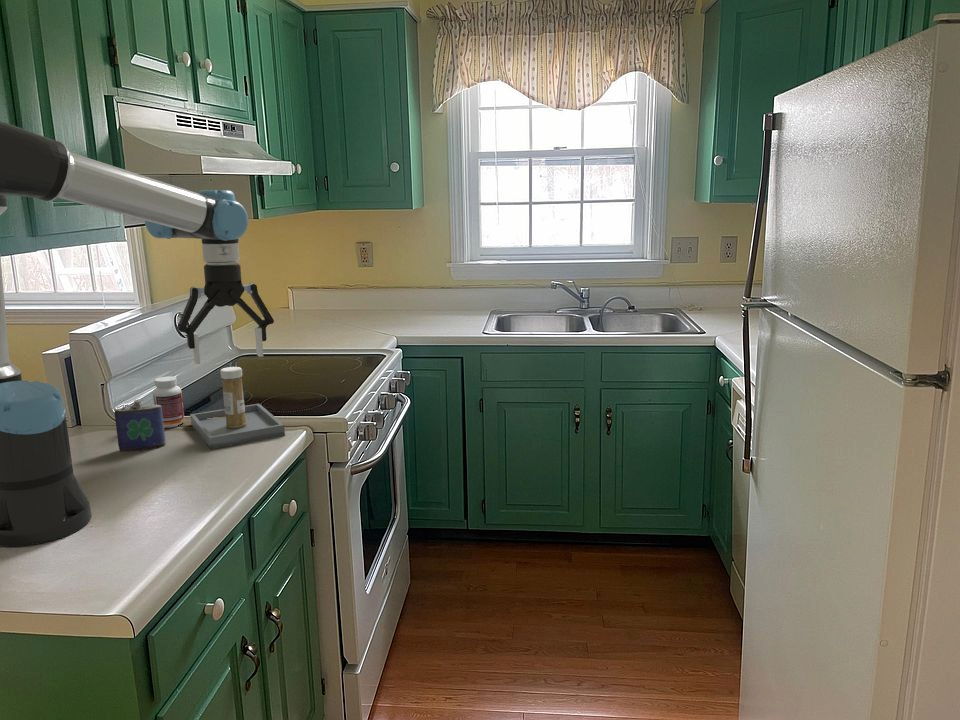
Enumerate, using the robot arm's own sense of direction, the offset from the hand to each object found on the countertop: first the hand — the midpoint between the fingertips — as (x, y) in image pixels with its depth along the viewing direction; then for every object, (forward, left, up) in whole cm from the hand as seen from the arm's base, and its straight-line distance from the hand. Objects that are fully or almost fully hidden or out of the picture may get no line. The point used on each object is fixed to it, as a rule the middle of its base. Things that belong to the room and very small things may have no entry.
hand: (229, 359), depth 168 cm
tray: (0, 0, -17) cm, 17 cm away
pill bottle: (-12, +13, -17) cm, 24 cm away
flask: (-20, -1, -17) cm, 26 cm away
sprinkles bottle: (0, 0, -16) cm, 16 cm away
